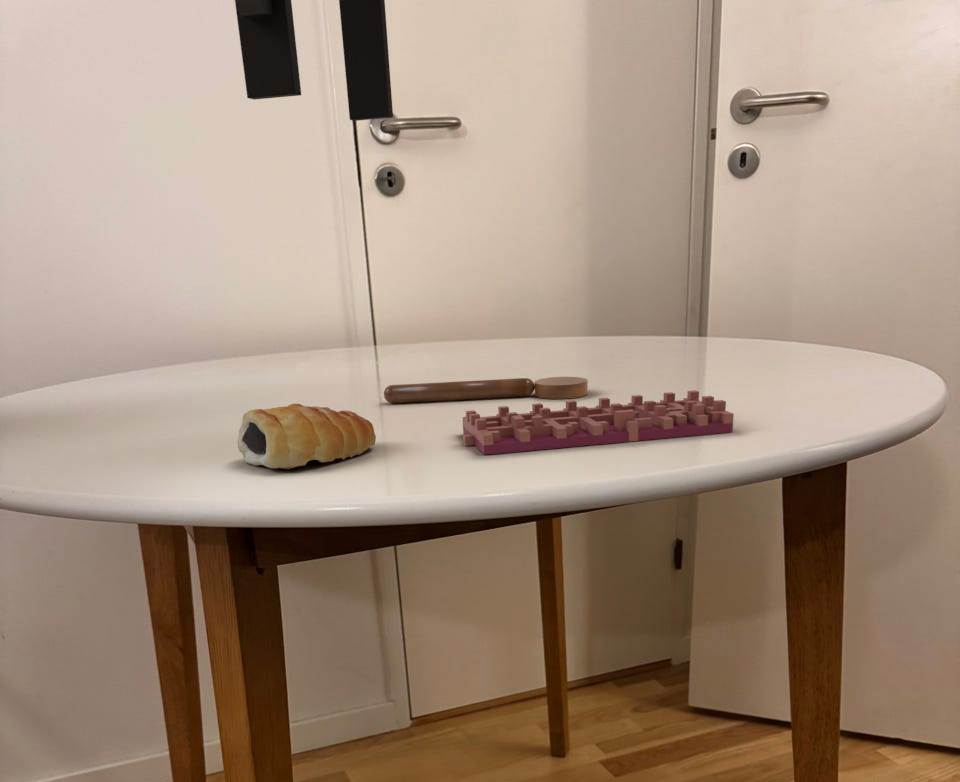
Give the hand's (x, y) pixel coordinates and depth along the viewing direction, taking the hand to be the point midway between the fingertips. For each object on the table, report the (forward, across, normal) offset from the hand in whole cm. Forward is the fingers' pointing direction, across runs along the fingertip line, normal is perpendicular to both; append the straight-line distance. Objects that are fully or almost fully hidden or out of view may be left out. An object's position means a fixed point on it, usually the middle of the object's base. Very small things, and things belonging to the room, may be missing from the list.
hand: (328, 109), depth 54 cm
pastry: (+21, +2, +5) cm, 22 cm away
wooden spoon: (+21, +25, -2) cm, 33 cm away
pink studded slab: (+21, +11, -14) cm, 27 cm away
